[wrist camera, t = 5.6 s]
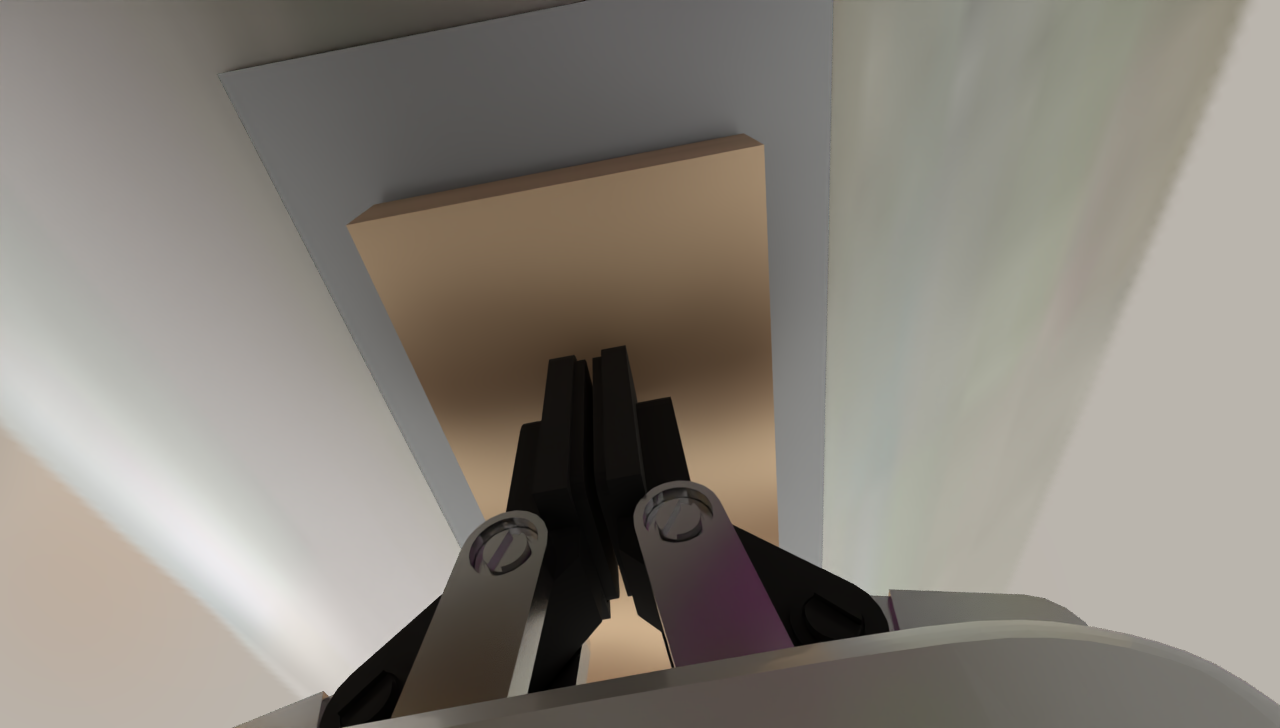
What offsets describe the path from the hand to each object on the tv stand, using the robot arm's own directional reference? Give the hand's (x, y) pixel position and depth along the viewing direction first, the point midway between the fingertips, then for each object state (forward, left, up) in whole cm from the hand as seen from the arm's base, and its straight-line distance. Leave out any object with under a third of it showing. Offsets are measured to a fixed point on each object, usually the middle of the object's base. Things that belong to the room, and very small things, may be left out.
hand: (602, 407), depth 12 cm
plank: (+6, 0, -2) cm, 6 cm away
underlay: (+6, 0, -3) cm, 7 cm away
